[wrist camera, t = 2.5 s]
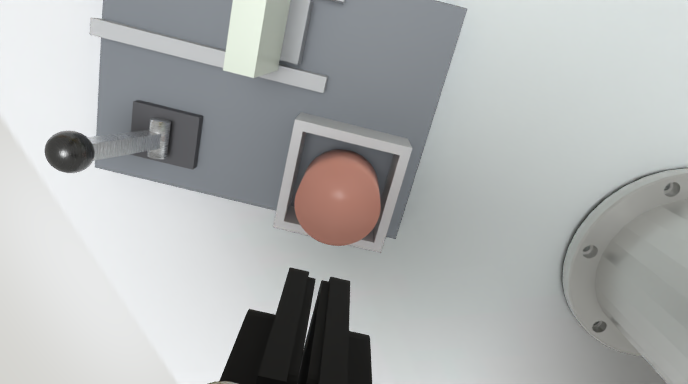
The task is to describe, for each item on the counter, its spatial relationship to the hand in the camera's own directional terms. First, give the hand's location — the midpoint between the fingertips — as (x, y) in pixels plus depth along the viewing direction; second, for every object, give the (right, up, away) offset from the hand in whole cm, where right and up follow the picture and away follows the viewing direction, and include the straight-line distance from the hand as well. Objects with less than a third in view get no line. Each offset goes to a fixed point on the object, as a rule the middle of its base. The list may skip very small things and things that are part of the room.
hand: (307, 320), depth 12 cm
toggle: (-9, +6, +11) cm, 16 cm away
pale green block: (-2, +12, +10) cm, 16 cm away
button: (+1, +4, +11) cm, 12 cm away
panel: (-3, +9, +13) cm, 16 cm away
